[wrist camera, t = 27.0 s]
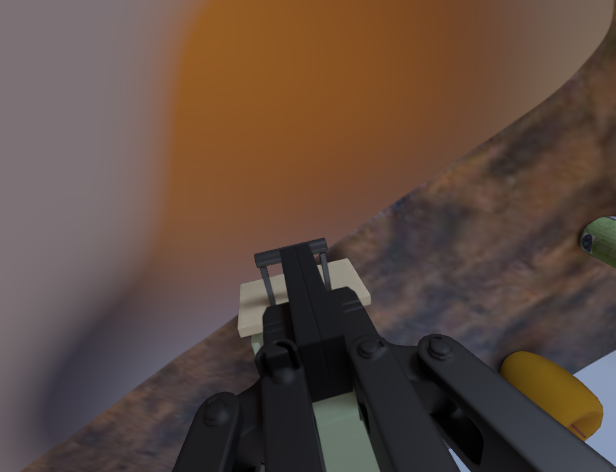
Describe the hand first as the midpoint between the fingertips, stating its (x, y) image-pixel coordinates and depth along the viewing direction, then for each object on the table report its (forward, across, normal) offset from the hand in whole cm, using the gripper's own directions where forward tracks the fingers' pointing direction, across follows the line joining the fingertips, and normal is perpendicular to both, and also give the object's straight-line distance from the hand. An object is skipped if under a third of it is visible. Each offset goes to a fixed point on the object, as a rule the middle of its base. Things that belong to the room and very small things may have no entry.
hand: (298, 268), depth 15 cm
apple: (+19, +34, -41) cm, 56 cm away
